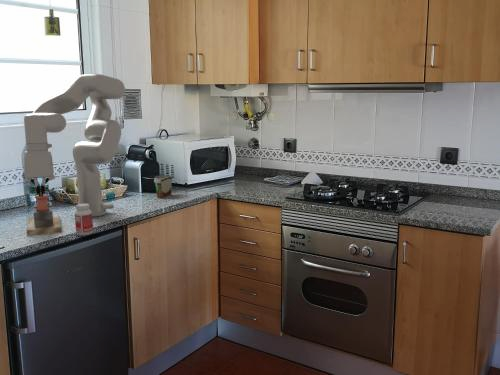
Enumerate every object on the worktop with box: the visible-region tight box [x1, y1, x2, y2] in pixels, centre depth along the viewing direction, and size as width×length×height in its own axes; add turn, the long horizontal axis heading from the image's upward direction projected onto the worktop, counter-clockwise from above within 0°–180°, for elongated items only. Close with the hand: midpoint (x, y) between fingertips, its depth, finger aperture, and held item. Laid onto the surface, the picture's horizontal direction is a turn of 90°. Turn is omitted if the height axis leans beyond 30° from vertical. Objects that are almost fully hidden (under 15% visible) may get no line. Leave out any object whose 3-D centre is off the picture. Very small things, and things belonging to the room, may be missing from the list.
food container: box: [153, 174, 173, 200], centre depth 266 cm, size 12×6×10 cm, turn 161°
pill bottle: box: [74, 203, 94, 236], centre depth 198 cm, size 6×6×11 cm
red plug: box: [35, 194, 49, 212], centre depth 204 cm, size 4×4×9 cm
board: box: [26, 201, 63, 236], centre depth 210 cm, size 12×22×8 cm, turn 21°
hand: (41, 195), depth 202 cm, fingers closed
